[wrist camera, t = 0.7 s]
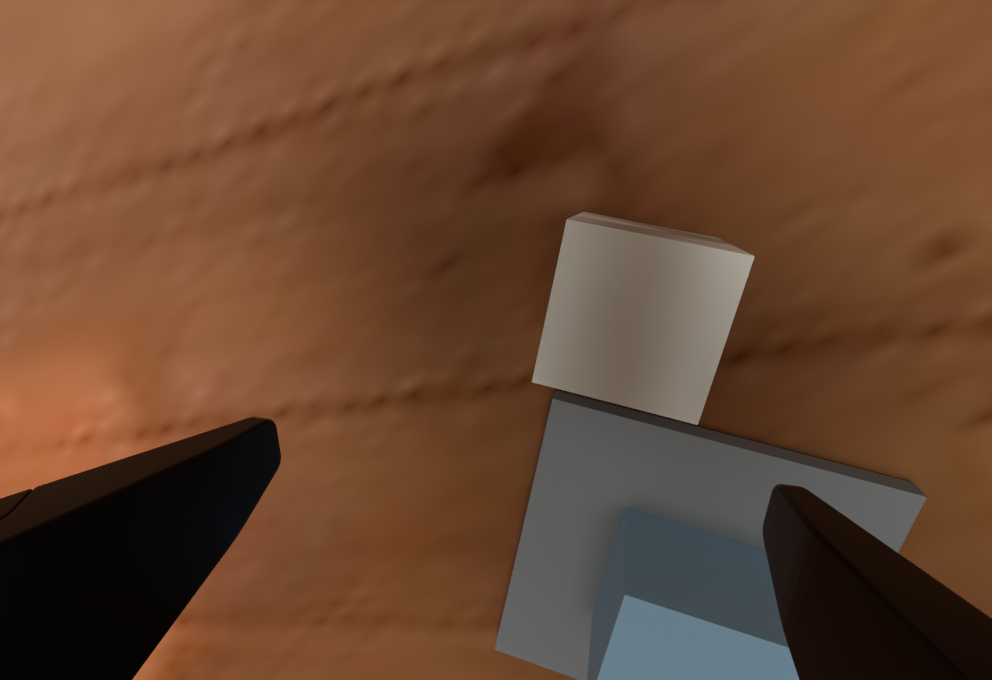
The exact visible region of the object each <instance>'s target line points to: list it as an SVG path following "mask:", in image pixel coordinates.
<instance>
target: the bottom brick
mask: <svg viewBox="0 0 992 680" xmlns="http://www.w3.org/2000/svg"><path fill="white" fill-rule="evenodd" d="M587 680H799V677H798V674H797V671H796V668H795V665H794V662H793V659H792V656H791V653H790V650H789V647H788V644H787V641H786V638H785V635H784V631H783V628H782V624H781V620H780V615H779V611H778V606H777V602H776V597H775V592H774V588H773V583H772V578H771V573H770V569H769V564H768V559H767V555H766V550H765V548H761V547H758V546H755V545H751V544H748V543H744V542H741V541H738V540H734V539H731V538H727V537H724V536H721V535H717V534H714V533H710V532H707V531H704V530H700V529H697V528H693V527H690V526H687V525H683V524H680V523H676V522H673V521H670V520H666V519H663V518H659V517H656V516H653V515H649V514H646V513H642V512H639V511H635V510H632V509H629V508H625V509H624V512H623V516H622V519H621V522H620V525H619V529H618V532H617V535H616V539H615V542H614V545H613V548H612V552H611V555H610V558H609V562H608V565H607V568H606V571H605V575H604V578H603V581H602V585H601V588H600V591H599V594H598V598H597V601H596V604H595V608H594V611H593V614H592V624H591V636H590V649H589V661H588V674H587Z"/></svg>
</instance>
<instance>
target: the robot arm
mask: <svg viewBox="0 0 992 680" xmlns="http://www.w3.org/2000/svg"><path fill="white" fill-rule="evenodd" d="M280 461H281V453H280V447H279V441H278V434H277V428H276V425H275V423H274V422H273V421H272V420H271V419H265V418H257V417H251V418H247V419H244V420H241V421H238V422H235V423H232V424H229V425H226V426H223V427H220V428H216V429H213V430H210V431H207V432H204V433H201V434H198V435H195V436H192V437H189V438H186V439H183V440H180V441H176V442H173V443H170V444H167V445H164V446H161V447H158V448H155V449H152V450H149V451H146V452H143V453H140V454H136V455H133V456H130V457H127V458H124V459H121V460H118V461H115V462H112V463H109V464H106V465H103V466H100V467H97V468H93V469H90V470H87V471H84V472H81V473H78V474H75V475H72V476H69V477H66V478H63V479H60V480H57V481H53V482H50V483H47V484H44V485H41V486H38V487H36V488H35V489H34V490H32V489H29V490H25V491H22V492H19V493H16V494H13V495H10V496H7V497H4V498H1V499H0V680H132V679H133V678H134V676H135V675H136V674H137V672H138V671H139V670H140V668H141V667H142V665H143V664H144V663H145V661H146V660H147V659H148V657H149V656H150V655H151V653H152V652H153V651H154V649H155V648H156V646H157V645H158V644H159V642H160V641H161V640H162V638H163V637H164V636H165V634H166V633H167V631H168V630H169V629H170V627H171V626H172V625H173V623H174V622H175V621H176V619H177V618H178V617H179V615H180V614H181V612H182V611H183V610H184V608H185V607H186V606H187V604H188V603H189V602H190V600H191V599H192V597H193V596H194V595H195V593H196V592H197V591H198V589H199V588H200V587H201V585H202V584H203V583H204V581H205V580H206V578H207V577H208V576H209V574H210V573H211V572H212V570H213V569H214V568H215V566H216V565H217V564H218V562H219V561H220V559H221V558H222V557H223V555H224V554H225V553H226V551H227V550H228V549H229V547H230V546H231V544H232V543H233V542H234V540H235V539H236V537H237V536H238V534H239V533H240V531H241V529H242V528H243V526H244V525H245V523H246V522H247V520H248V518H249V516H250V515H251V513H252V511H253V510H254V508H255V506H256V505H257V503H258V501H259V500H260V498H261V496H262V495H263V493H264V491H265V490H266V488H267V486H268V485H269V483H270V481H271V480H272V478H273V476H274V475H275V473H276V471H277V470H278V467H279V465H280ZM763 541H764V545H765V550H766V555H767V559H768V564H769V569H770V573H771V578H772V583H773V588H774V592H775V597H776V602H777V606H778V611H779V615H780V620H781V624H782V628H783V631H784V635H785V638H786V641H787V644H788V647H789V650H790V653H791V656H792V659H793V662H794V665H795V668H796V671H797V674H798V677H799V680H992V618H990V617H989V616H987V615H986V614H984V613H983V612H982V611H980V610H979V609H977V608H976V607H974V606H973V605H972V604H970V603H969V602H967V601H966V600H964V599H963V598H962V597H960V596H959V595H957V594H956V593H954V592H953V591H952V590H950V589H949V588H947V587H946V586H944V585H943V584H942V583H940V582H939V581H937V580H936V579H934V578H933V577H932V576H930V575H929V574H927V573H926V572H924V571H923V570H922V569H920V568H919V567H917V566H916V565H914V564H913V563H912V562H910V561H909V560H907V559H906V558H904V557H903V556H902V555H900V554H899V553H897V552H896V551H894V550H893V549H892V548H890V547H889V546H887V545H886V544H884V543H883V542H882V541H880V540H879V539H877V538H876V537H875V536H873V535H872V534H870V533H869V532H867V531H866V530H865V529H863V528H862V527H860V526H859V525H857V524H856V523H855V522H853V521H852V520H850V519H849V518H847V517H846V516H845V515H843V514H842V513H840V512H839V511H837V510H836V509H835V508H833V507H832V506H830V505H829V504H827V503H826V502H825V501H823V500H822V499H820V498H819V497H817V496H816V495H815V494H813V493H812V492H810V491H809V490H807V489H806V488H804V487H801V486H793V485H785V484H778V485H776V486H775V487H774V488H773V490H772V493H771V496H770V500H769V504H768V507H767V511H766V515H765V519H764V522H763Z"/></svg>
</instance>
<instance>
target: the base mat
mask: <svg viewBox="0 0 992 680" xmlns="http://www.w3.org/2000/svg"><path fill="white" fill-rule="evenodd" d="M778 484H785V485H793V486H801V487H804V488H806V489H807V490H809V491H810V492H812V493H813V494H815V495H816V496H817V497H819V498H820V499H822V500H823V501H825V502H826V503H827V504H829V505H830V506H832V507H833V508H835V509H836V510H837V511H839V512H840V513H842V514H843V515H845V516H846V517H847V518H849V519H850V520H852V521H853V522H855V523H856V524H857V525H859V526H860V527H862V528H863V529H865V530H866V531H867V532H869V533H870V534H872V535H873V536H875V537H876V538H877V539H879V540H880V541H882V542H883V543H884V544H886V545H887V546H889V547H890V548H892V549H893V550H894V551H896V552H897V553H898V552H899V550H900V548H901V546H902V544H903V542H904V540H905V538H906V537H907V535H908V533H909V531H910V529H911V527H912V525H913V523H914V521H915V519H916V518H917V516H918V514H919V512H920V510H921V508H922V506H923V504H924V502H925V500H926V499H927V496H926V495H925V494H924V493H923V492H922V491H921V490H920V489H919V488H918V487H917V486H916V485H915V484H914V483H913V482H909V481H905V480H901V479H898V478H894V477H890V476H886V475H882V474H878V473H874V472H871V471H867V470H863V469H859V468H855V467H851V466H847V465H844V464H840V463H836V462H832V461H828V460H824V459H820V458H817V457H813V456H809V455H805V454H801V453H797V452H793V451H790V450H786V449H782V448H778V447H774V446H770V445H766V444H763V443H759V442H755V441H751V440H747V439H743V438H739V437H736V436H732V435H728V434H724V433H720V432H716V431H712V430H709V429H705V428H701V427H697V426H693V425H689V424H685V423H682V422H678V421H674V420H670V419H666V418H662V417H658V416H655V415H651V414H647V413H643V412H639V411H635V410H631V409H628V408H624V407H620V406H616V405H612V404H608V403H604V402H601V401H597V400H593V399H589V398H585V397H581V396H577V395H574V394H570V393H566V392H562V391H558V390H555V393H554V396H553V399H552V403H551V407H550V412H549V416H548V420H547V425H546V429H545V433H544V438H543V442H542V446H541V451H540V455H539V459H538V464H537V468H536V472H535V477H534V481H533V485H532V490H531V494H530V498H529V503H528V507H527V511H526V516H525V520H524V524H523V529H522V533H521V537H520V542H519V546H518V550H517V555H516V559H515V563H514V568H513V572H512V576H511V581H510V585H509V589H508V594H507V598H506V602H505V607H504V611H503V615H502V620H501V624H500V628H499V632H498V637H497V641H496V645H495V650H497V651H500V652H502V653H505V654H508V655H511V656H514V657H516V658H519V659H522V660H525V661H527V662H530V663H533V664H536V665H539V666H541V667H544V668H547V669H550V670H552V671H555V672H558V673H561V674H564V675H566V676H569V677H572V678H575V679H577V680H587V674H588V661H589V649H590V636H591V624H592V614H593V611H594V608H595V604H596V601H597V598H598V594H599V591H600V588H601V585H602V581H603V578H604V575H605V571H606V568H607V565H608V562H609V558H610V555H611V552H612V548H613V545H614V542H615V539H616V535H617V532H618V529H619V525H620V522H621V519H622V516H623V512H624V509H625V508H629V509H632V510H635V511H639V512H642V513H646V514H649V515H653V516H656V517H659V518H663V519H666V520H670V521H673V522H676V523H680V524H683V525H687V526H690V527H693V528H697V529H700V530H704V531H707V532H710V533H714V534H717V535H721V536H724V537H727V538H731V539H734V540H738V541H741V542H744V543H748V544H751V545H755V546H758V547H761V548H765V545H764V541H763V522H764V519H765V515H766V511H767V507H768V504H769V500H770V496H771V493H772V490H773V488H774V487H775V486H776V485H778Z"/></svg>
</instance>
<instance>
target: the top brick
mask: <svg viewBox="0 0 992 680" xmlns="http://www.w3.org/2000/svg"><path fill="white" fill-rule="evenodd" d="M754 257H755V256H753V255H751V254H749V253H747V252H745V251H743V250H741V249H739V248H737V247H735V246H733V245H731V244H729V243H727V242H725V241H723V240H721V239H719V238H717V237H713V236H708V235H703V234H698V233H692V232H687V231H682V230H677V229H672V228H667V227H661V226H656V225H651V224H646V223H641V222H636V221H630V220H625V219H620V218H615V217H610V216H605V215H599V214H594V213H589V212H581V213H579V214H577V215H575V216H572V217H570V218H568V219H567V220H566V225H565V229H564V234H563V239H562V243H561V248H560V253H559V257H558V262H557V267H556V271H555V276H554V281H553V286H552V290H551V295H550V300H549V304H548V309H547V314H546V318H545V323H544V328H543V332H542V337H541V342H540V346H539V351H538V356H537V360H536V365H535V370H534V374H533V379H532V382H533V383H537V384H541V385H545V386H549V387H552V388H556V389H560V390H564V391H568V392H572V393H576V394H579V395H583V396H587V397H591V398H595V399H599V400H603V401H606V402H610V403H614V404H618V405H622V406H626V407H630V408H634V409H637V410H641V411H645V412H649V413H653V414H657V415H661V416H664V417H668V418H672V419H676V420H680V421H684V422H688V423H691V424H695V425H698V423H699V420H700V417H701V414H702V411H703V408H704V405H705V402H706V399H707V396H708V393H709V390H710V387H711V385H712V382H713V379H714V376H715V373H716V370H717V367H718V364H719V361H720V358H721V355H722V352H723V349H724V346H725V343H726V340H727V337H728V334H729V331H730V328H731V325H732V322H733V319H734V316H735V314H736V311H737V308H738V305H739V302H740V299H741V296H742V293H743V290H744V287H745V284H746V281H747V278H748V275H749V272H750V269H751V266H752V263H753V260H754Z"/></svg>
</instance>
